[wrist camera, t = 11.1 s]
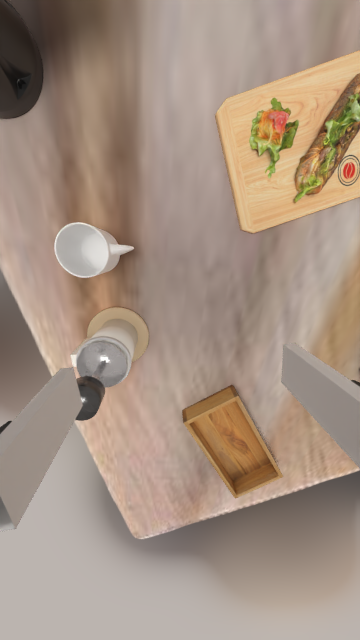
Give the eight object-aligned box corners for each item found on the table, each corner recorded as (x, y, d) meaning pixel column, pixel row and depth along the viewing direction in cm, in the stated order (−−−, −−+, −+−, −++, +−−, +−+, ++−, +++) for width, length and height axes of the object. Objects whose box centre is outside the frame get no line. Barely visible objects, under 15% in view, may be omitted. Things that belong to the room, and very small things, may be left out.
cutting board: (241, 237, 47) (254, 234, 40) (212, 108, 40) (222, 77, 33) (398, 183, 46) (441, 170, 39) (396, 42, 39) (448, -5, 32)
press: (82, 310, 49) (53, 330, 36) (144, 304, 49) (137, 321, 37) (94, 365, 53) (72, 401, 40) (152, 359, 53) (148, 392, 41)
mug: (139, 269, 47) (132, 274, 37) (83, 274, 47) (60, 279, 36) (134, 227, 45) (125, 219, 34) (75, 231, 44) (48, 224, 34)
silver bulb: (73, 344, 37) (36, 380, 26) (123, 339, 37) (107, 372, 27) (84, 387, 39) (54, 436, 29) (131, 382, 40) (118, 428, 29)
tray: (181, 408, 59) (183, 424, 53) (231, 383, 57) (238, 396, 52) (229, 479, 67) (235, 499, 62) (273, 458, 66) (283, 476, 61)
